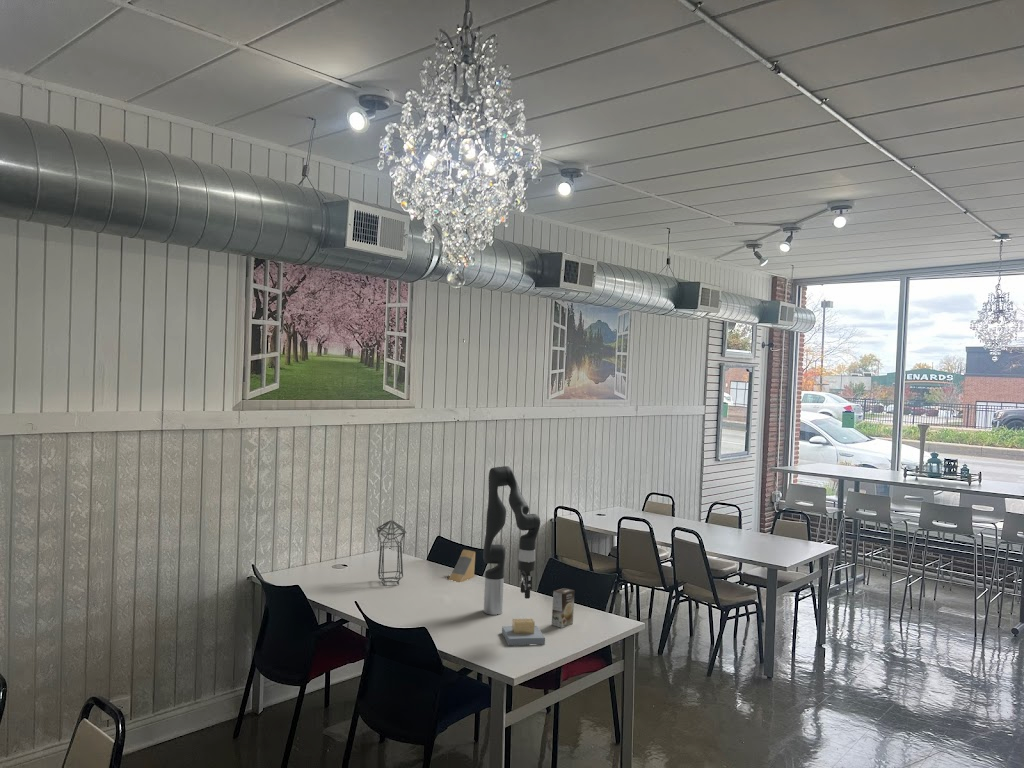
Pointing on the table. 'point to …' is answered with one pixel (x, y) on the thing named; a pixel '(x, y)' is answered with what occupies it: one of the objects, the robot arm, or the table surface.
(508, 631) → the slate board
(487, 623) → the table surface
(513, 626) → the tan rectangular block
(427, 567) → the table surface
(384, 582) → the geometric lantern
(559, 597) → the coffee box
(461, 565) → the sandwich container
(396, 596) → the table surface
